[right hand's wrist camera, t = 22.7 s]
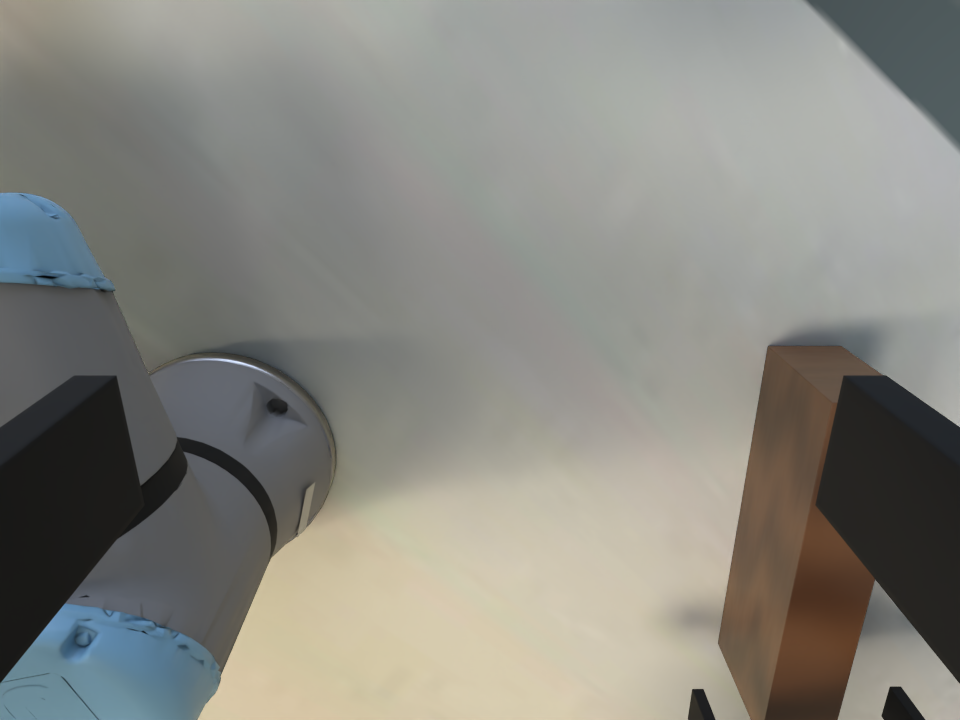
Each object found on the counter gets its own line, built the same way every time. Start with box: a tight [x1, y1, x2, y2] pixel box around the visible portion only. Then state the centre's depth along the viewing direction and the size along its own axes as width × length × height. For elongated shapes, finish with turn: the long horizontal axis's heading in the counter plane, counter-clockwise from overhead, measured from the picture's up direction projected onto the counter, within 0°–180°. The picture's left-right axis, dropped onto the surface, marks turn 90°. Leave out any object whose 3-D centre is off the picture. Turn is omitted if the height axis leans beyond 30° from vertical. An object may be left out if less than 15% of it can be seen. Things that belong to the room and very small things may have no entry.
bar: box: [718, 346, 882, 720], centre depth 46 cm, size 26×5×9 cm, turn 0°
